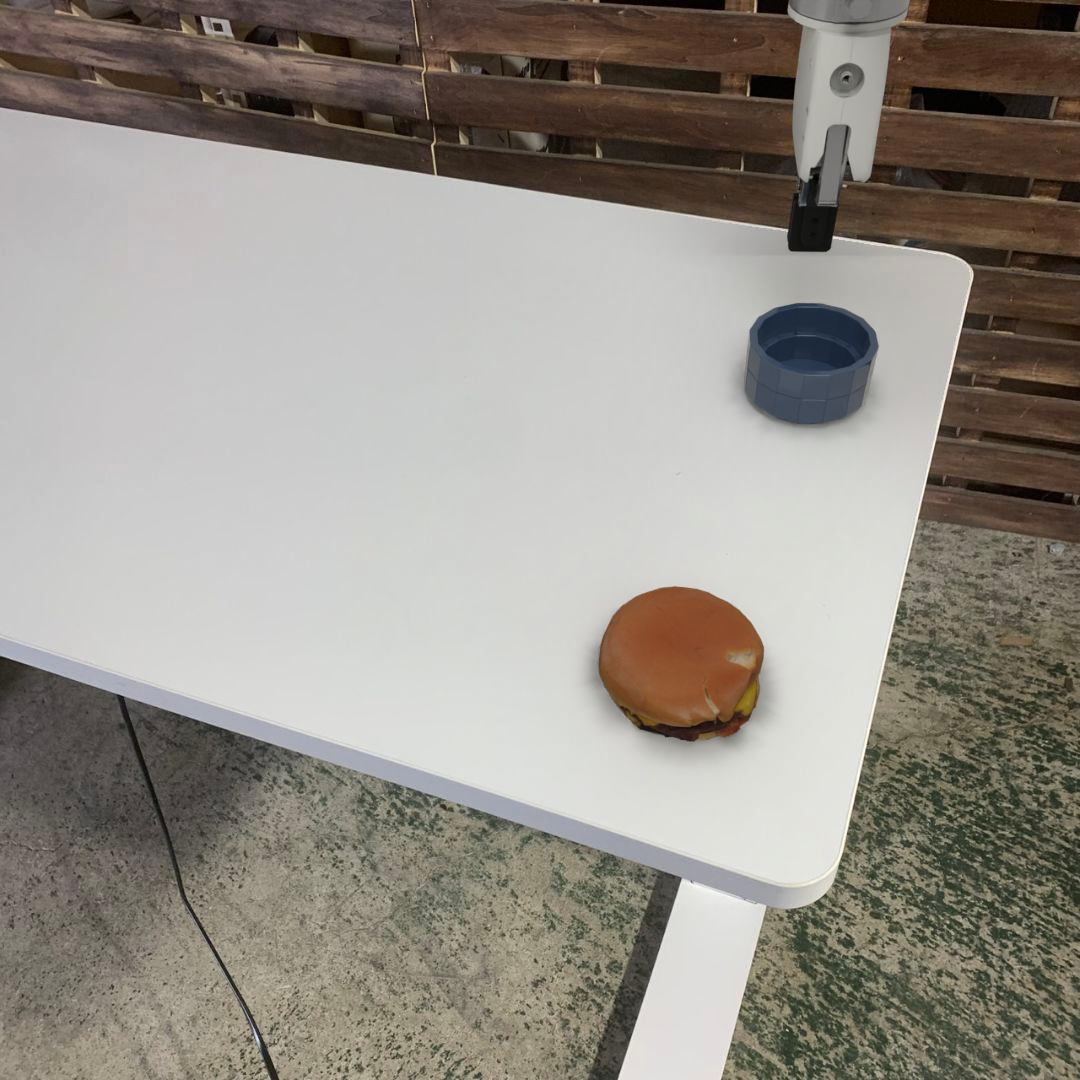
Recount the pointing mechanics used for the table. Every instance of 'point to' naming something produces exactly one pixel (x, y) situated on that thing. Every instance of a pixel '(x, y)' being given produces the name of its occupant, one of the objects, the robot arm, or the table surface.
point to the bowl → (810, 362)
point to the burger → (682, 664)
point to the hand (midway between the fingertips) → (808, 245)
